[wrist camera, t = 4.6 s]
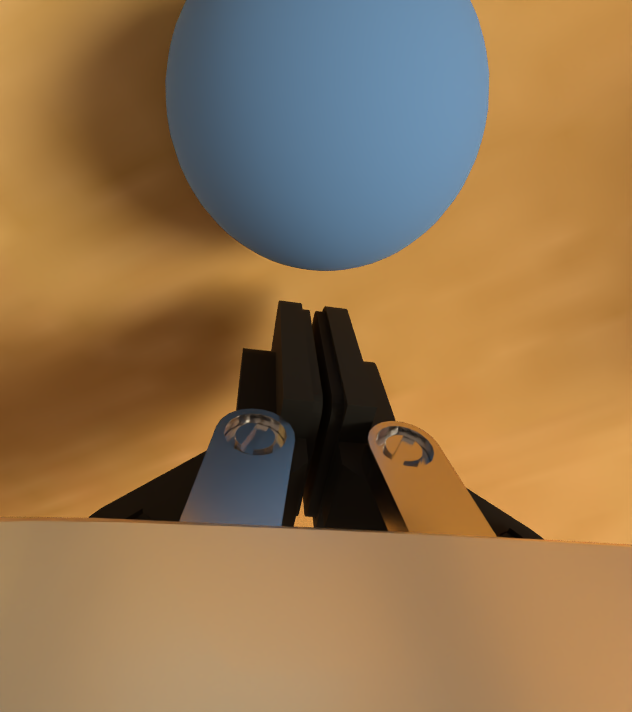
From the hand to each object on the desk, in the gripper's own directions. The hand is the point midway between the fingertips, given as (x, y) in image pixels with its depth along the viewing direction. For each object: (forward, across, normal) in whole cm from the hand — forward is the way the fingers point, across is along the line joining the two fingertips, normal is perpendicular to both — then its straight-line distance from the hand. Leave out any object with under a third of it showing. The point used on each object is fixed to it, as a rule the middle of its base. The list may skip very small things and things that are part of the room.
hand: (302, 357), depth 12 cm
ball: (-1, 0, -6) cm, 6 cm away
